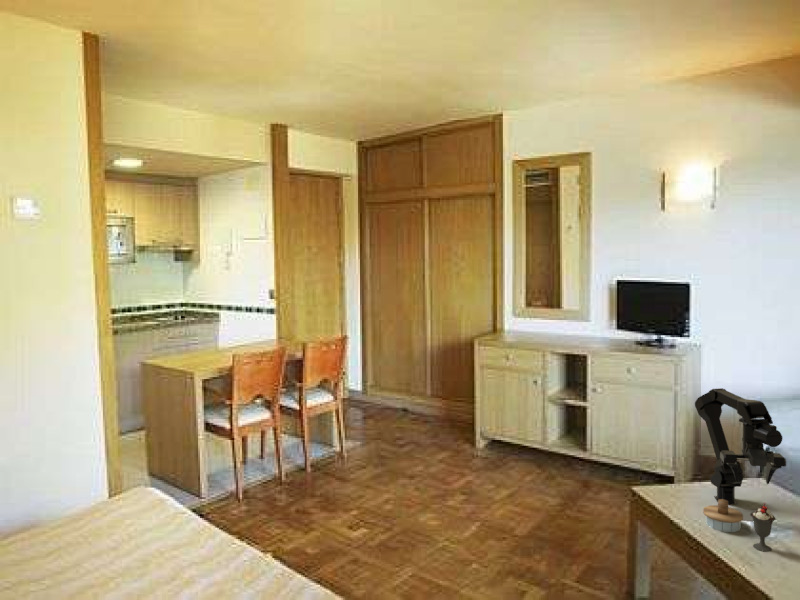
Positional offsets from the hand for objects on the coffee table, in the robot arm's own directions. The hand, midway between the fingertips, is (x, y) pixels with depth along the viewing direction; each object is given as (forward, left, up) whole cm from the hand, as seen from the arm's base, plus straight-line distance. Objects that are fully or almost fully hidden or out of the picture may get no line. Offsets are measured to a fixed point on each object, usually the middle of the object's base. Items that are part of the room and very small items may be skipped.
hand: (752, 482), depth 199 cm
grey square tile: (-1, -2, -12) cm, 13 cm away
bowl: (+9, -11, -12) cm, 19 cm away
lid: (+9, -11, -8) cm, 17 cm away
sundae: (+22, -3, -13) cm, 26 cm away
